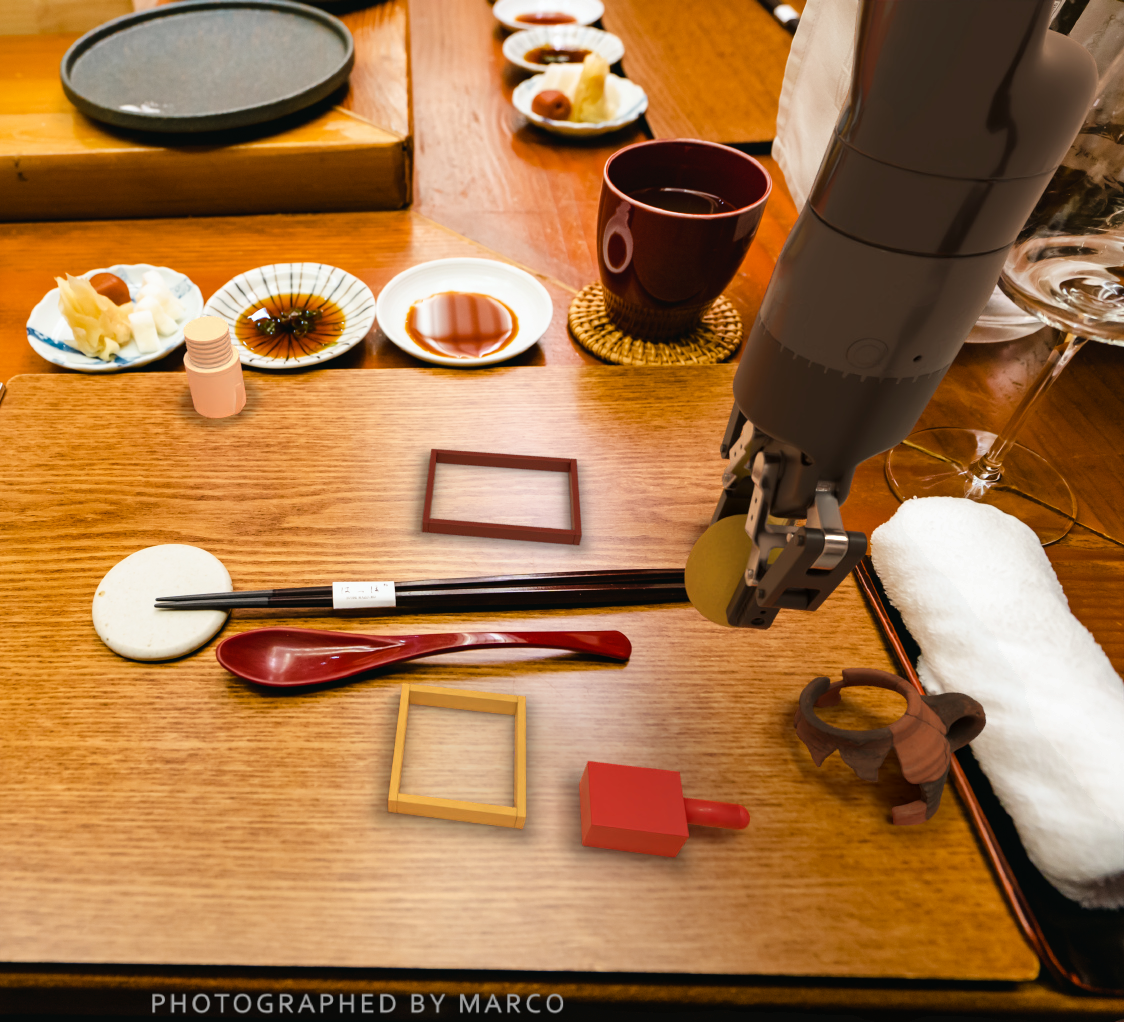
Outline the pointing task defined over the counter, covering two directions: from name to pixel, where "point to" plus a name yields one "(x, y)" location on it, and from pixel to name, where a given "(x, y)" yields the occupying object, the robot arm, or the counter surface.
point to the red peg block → (645, 810)
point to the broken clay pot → (894, 735)
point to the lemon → (719, 567)
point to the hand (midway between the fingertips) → (736, 577)
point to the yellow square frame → (456, 808)
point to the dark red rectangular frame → (504, 529)
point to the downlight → (213, 368)
